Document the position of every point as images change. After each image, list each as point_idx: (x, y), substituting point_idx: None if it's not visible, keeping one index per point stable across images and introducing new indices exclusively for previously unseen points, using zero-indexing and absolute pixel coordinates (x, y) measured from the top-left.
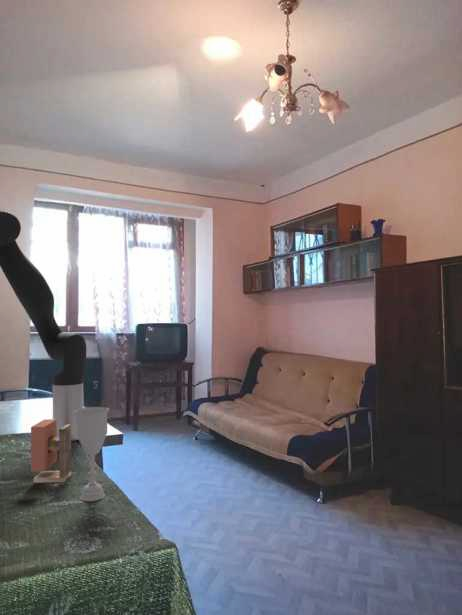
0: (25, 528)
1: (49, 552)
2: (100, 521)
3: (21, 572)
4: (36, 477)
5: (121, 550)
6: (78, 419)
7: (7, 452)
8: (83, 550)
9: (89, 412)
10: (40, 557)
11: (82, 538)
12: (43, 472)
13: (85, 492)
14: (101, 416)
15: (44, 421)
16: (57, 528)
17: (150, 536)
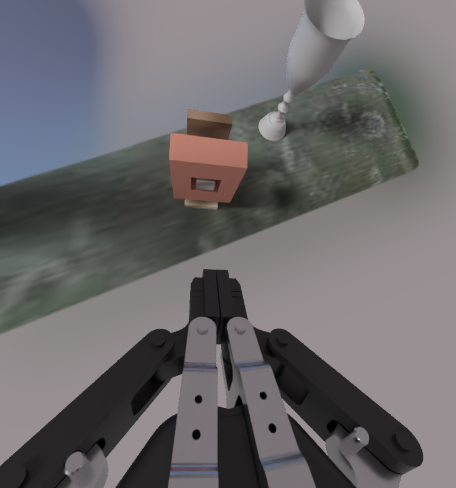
0: (347, 178)
1: (385, 147)
2: (332, 115)
3: (412, 159)
4: (214, 204)
5: (379, 97)
6: (343, 47)
7: (3, 328)
8: (381, 123)
9: (307, 25)
10: (393, 152)
11: (363, 126)
12: (191, 200)
13: (283, 129)
14: (343, 8)
15: (192, 154)
16: (346, 149)
17: (358, 77)
